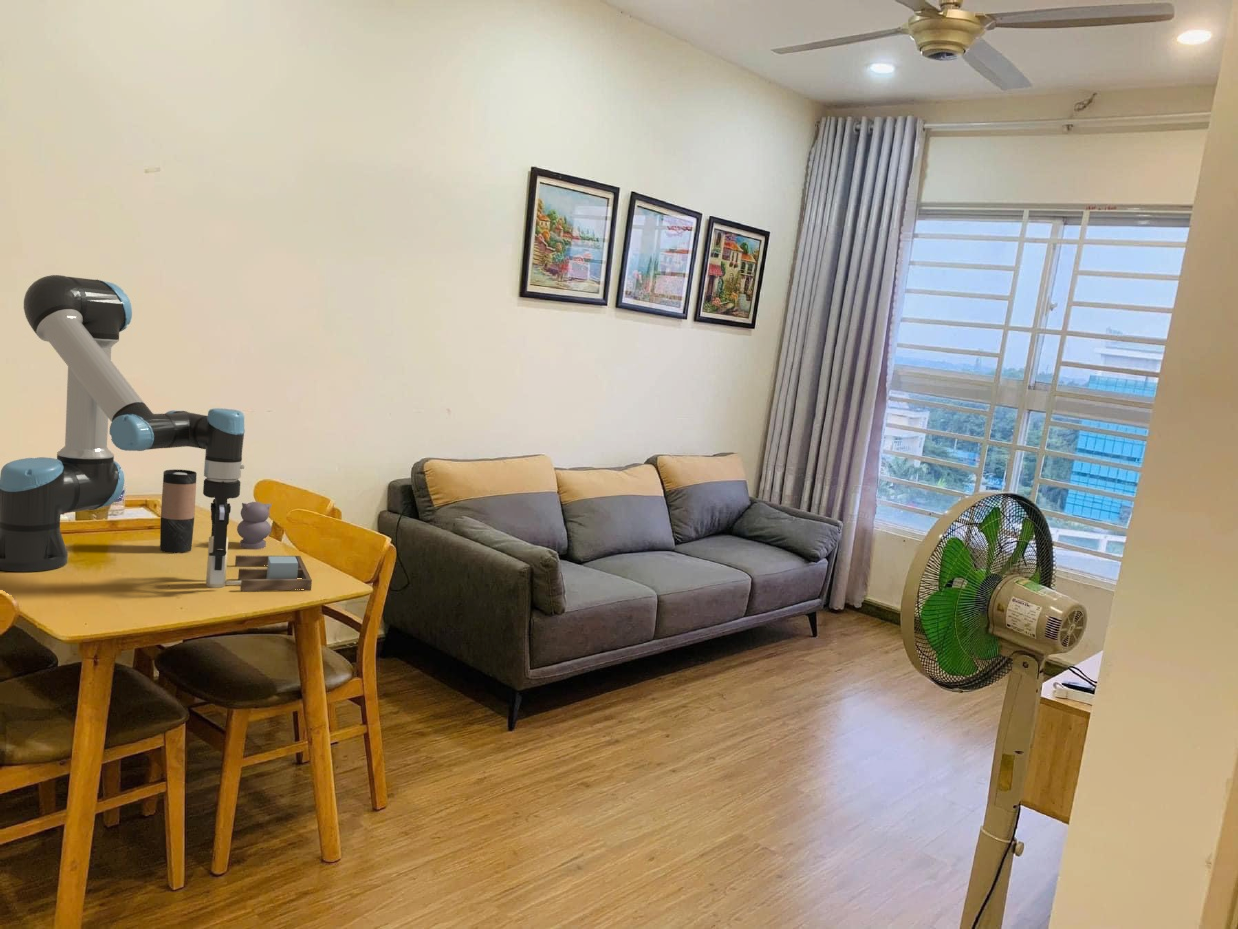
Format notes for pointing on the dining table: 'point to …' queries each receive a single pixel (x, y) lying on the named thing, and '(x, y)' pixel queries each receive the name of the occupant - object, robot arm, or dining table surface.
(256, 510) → the cat figurine
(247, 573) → the lane rack
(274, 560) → the tethered block
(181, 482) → the travel mug
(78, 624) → the dining table surface
